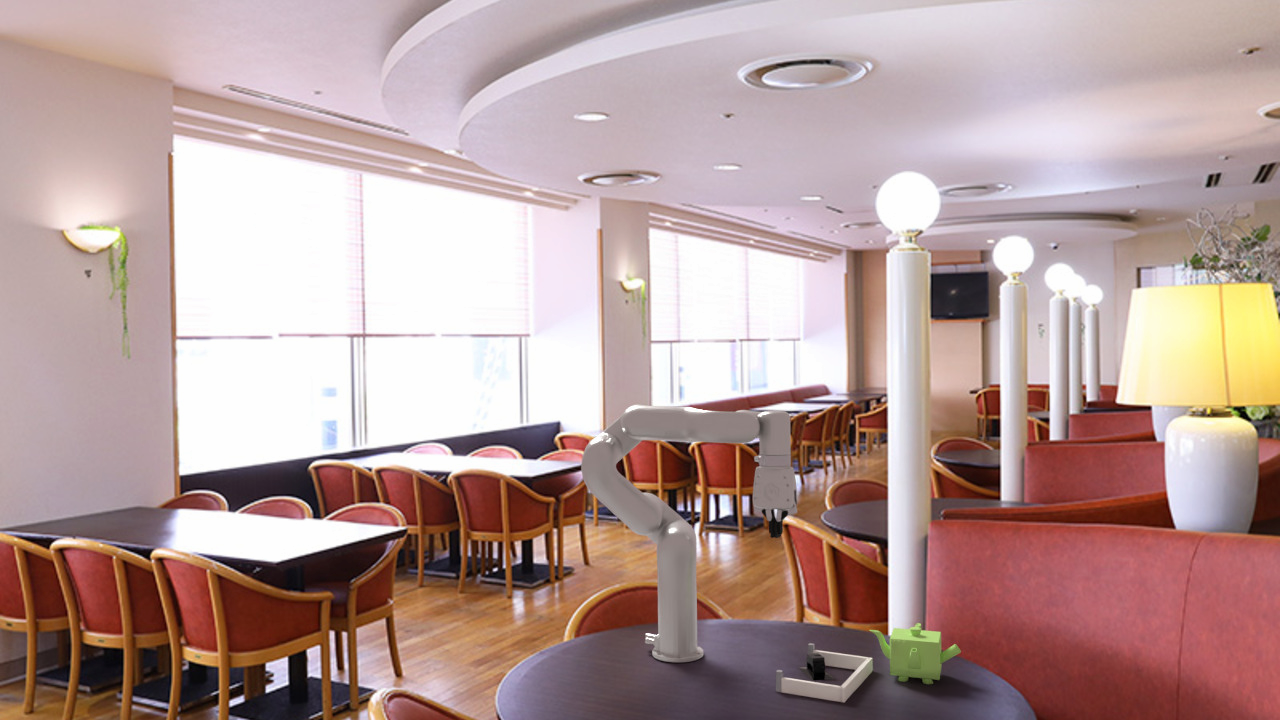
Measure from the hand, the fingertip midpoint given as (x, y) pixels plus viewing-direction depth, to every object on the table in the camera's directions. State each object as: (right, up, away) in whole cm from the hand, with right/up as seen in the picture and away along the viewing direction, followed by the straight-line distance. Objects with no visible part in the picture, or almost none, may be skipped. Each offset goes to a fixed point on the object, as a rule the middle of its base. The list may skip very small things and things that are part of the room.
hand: (775, 536), depth 233 cm
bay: (+9, -29, -18) cm, 35 cm away
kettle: (+29, -29, -16) cm, 44 cm away
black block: (+7, -30, -13) cm, 33 cm away
